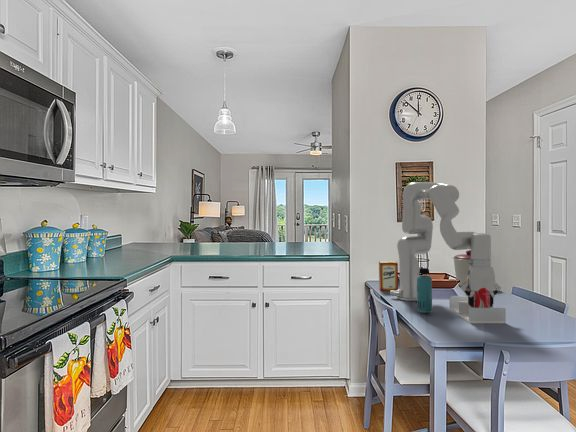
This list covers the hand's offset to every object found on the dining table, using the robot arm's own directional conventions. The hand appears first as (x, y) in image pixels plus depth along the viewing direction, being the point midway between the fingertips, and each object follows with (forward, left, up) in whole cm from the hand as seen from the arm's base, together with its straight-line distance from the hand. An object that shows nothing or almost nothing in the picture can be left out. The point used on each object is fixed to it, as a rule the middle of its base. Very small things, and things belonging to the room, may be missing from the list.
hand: (480, 305), depth 171 cm
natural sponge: (+16, +48, -6) cm, 51 cm away
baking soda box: (-25, +62, -6) cm, 67 cm away
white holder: (0, +5, -6) cm, 8 cm away
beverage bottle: (-20, +9, -6) cm, 23 cm away
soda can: (0, 0, -4) cm, 4 cm away
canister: (+23, +70, -6) cm, 74 cm away
